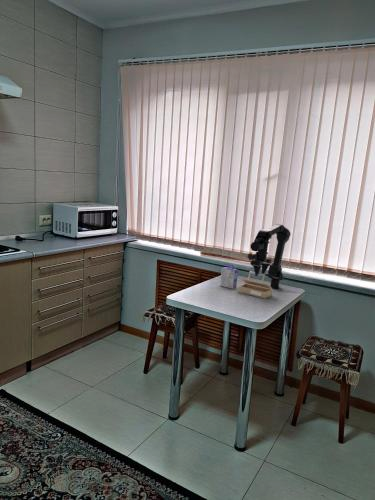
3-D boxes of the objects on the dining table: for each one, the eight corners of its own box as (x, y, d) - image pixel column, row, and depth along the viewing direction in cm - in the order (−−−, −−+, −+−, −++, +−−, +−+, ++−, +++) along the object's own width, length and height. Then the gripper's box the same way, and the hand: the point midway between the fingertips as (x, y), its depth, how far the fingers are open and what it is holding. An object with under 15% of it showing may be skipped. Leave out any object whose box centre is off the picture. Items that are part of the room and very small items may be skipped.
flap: (245, 283, 247) (248, 273, 249) (272, 289, 237) (275, 279, 238) (239, 278, 240) (243, 268, 241) (267, 284, 229) (270, 274, 231)
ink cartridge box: (236, 287, 252) (239, 265, 249) (233, 289, 247) (235, 266, 245) (223, 284, 257) (225, 263, 255) (219, 285, 252) (221, 264, 250)
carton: (245, 289, 248) (245, 283, 248) (271, 295, 238) (272, 289, 237) (237, 292, 240) (238, 286, 239) (264, 298, 230) (265, 292, 229)
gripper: (257, 247, 251) (254, 271, 253) (244, 249, 235) (241, 274, 238) (273, 250, 244) (270, 274, 247) (260, 252, 229) (257, 277, 231)
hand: (259, 275), depth 241 cm, fingers open, 9 cm apart
